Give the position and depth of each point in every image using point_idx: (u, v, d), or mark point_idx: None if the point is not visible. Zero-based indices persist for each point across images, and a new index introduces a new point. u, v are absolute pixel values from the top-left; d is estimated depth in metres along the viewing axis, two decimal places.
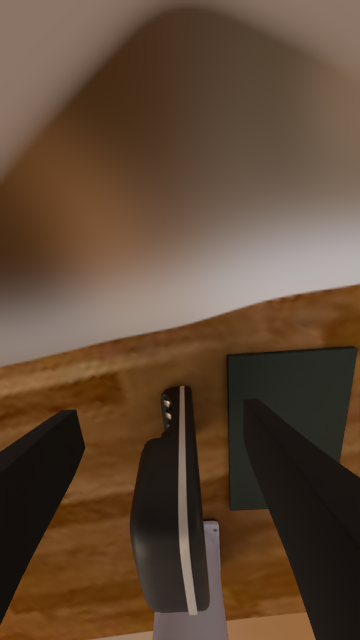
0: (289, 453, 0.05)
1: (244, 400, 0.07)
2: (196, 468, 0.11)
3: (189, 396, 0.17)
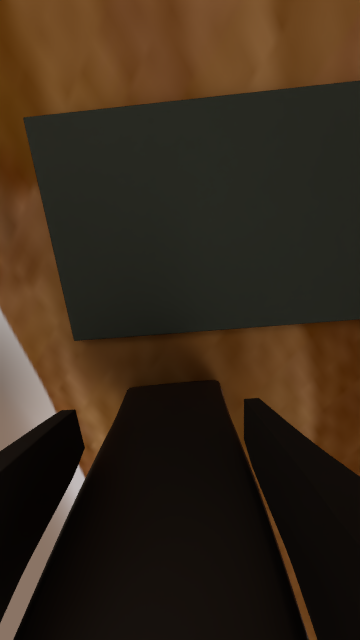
0: (291, 453, 0.05)
1: (246, 400, 0.07)
2: (47, 564, 0.05)
3: (122, 404, 0.12)
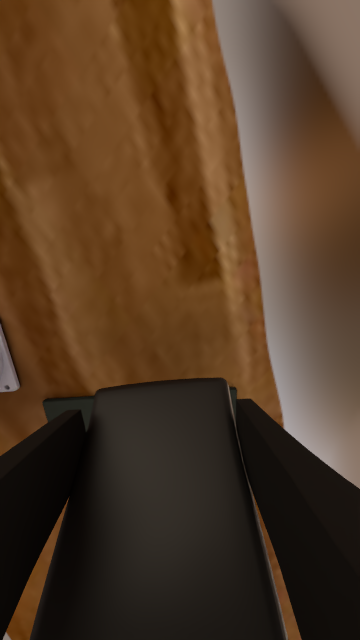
0: (277, 454, 0.05)
1: (237, 401, 0.08)
2: None
3: None
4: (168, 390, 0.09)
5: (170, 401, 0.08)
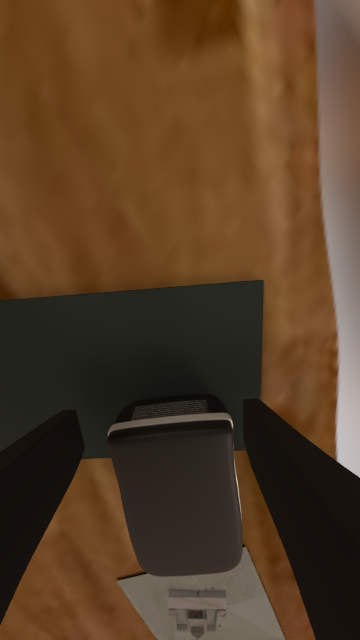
0: (289, 453, 0.05)
1: (245, 400, 0.07)
2: (134, 549, 0.11)
3: None
4: (178, 443, 0.09)
5: (181, 451, 0.09)
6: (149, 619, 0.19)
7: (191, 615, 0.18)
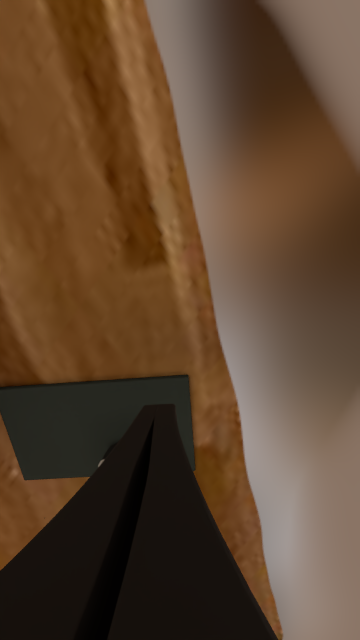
0: (152, 460, 0.05)
1: (158, 406, 0.08)
2: None
3: None
4: None
5: None
6: None
7: None
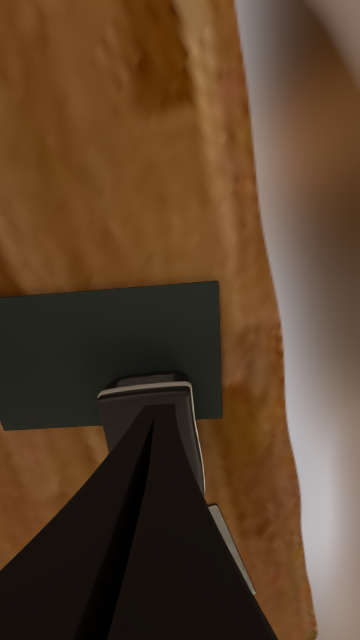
0: (152, 461, 0.05)
1: (158, 406, 0.08)
2: None
3: None
4: (149, 401, 0.12)
5: None
6: None
7: None
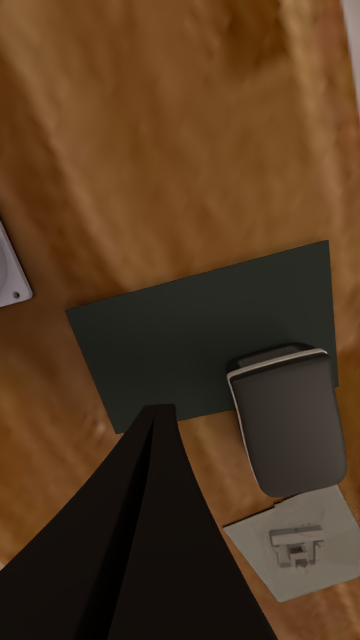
0: (152, 461, 0.05)
1: (158, 406, 0.08)
2: (257, 475, 0.14)
3: (237, 400, 0.13)
4: (290, 373, 0.12)
5: (293, 380, 0.12)
6: (254, 562, 0.22)
7: (292, 551, 0.21)
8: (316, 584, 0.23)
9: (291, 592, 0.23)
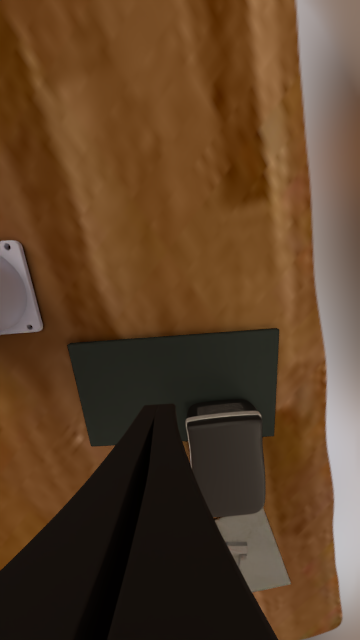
0: (152, 461, 0.05)
1: (158, 406, 0.08)
2: None
3: (190, 441, 0.17)
4: (230, 428, 0.16)
5: (232, 433, 0.16)
6: None
7: None
8: None
9: None
